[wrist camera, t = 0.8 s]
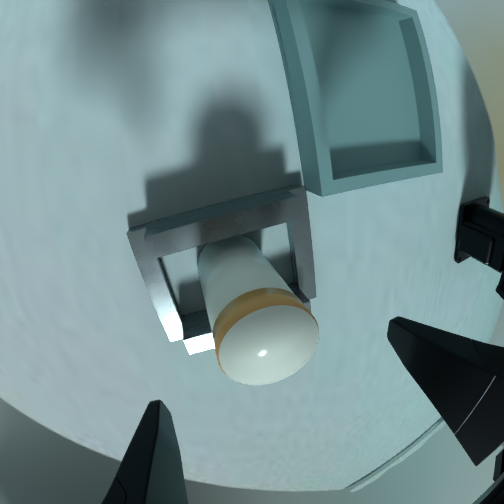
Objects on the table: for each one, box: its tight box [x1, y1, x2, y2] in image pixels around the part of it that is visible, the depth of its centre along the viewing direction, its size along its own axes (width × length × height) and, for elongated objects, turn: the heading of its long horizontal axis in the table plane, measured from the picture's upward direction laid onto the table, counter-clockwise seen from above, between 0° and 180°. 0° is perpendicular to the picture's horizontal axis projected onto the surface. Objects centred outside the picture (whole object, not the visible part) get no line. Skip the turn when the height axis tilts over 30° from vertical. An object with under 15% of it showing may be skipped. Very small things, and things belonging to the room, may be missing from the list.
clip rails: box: [127, 184, 316, 354], centre depth 16 cm, size 10×8×2 cm
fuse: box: [198, 235, 319, 385], centre depth 14 cm, size 4×4×8 cm
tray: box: [268, 0, 443, 197], centre depth 14 cm, size 11×13×2 cm
